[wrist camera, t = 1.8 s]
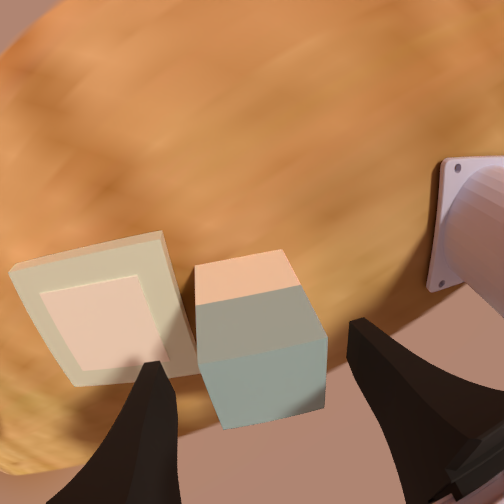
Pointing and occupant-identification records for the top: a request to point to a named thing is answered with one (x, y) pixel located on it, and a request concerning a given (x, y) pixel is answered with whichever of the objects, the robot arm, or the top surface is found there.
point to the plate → (109, 310)
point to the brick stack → (258, 340)
